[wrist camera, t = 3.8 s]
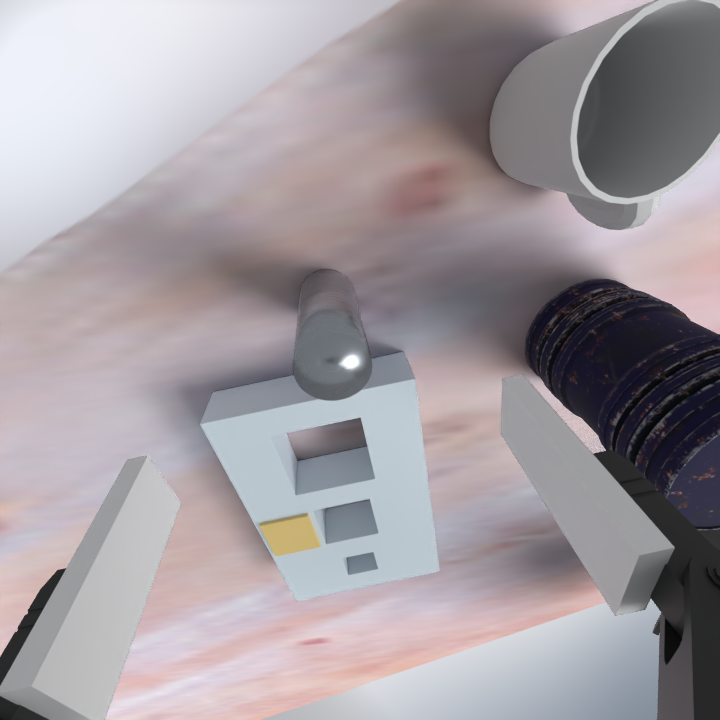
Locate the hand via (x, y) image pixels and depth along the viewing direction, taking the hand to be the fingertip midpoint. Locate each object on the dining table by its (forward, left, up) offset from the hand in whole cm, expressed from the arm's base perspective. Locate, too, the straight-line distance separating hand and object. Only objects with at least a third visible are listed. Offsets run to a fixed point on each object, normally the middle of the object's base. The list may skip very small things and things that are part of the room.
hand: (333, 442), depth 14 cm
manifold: (+3, +19, -16) cm, 25 cm away
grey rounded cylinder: (0, 0, -16) cm, 16 cm away
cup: (-16, -7, -16) cm, 24 cm away
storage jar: (-20, +8, -16) cm, 27 cm away
